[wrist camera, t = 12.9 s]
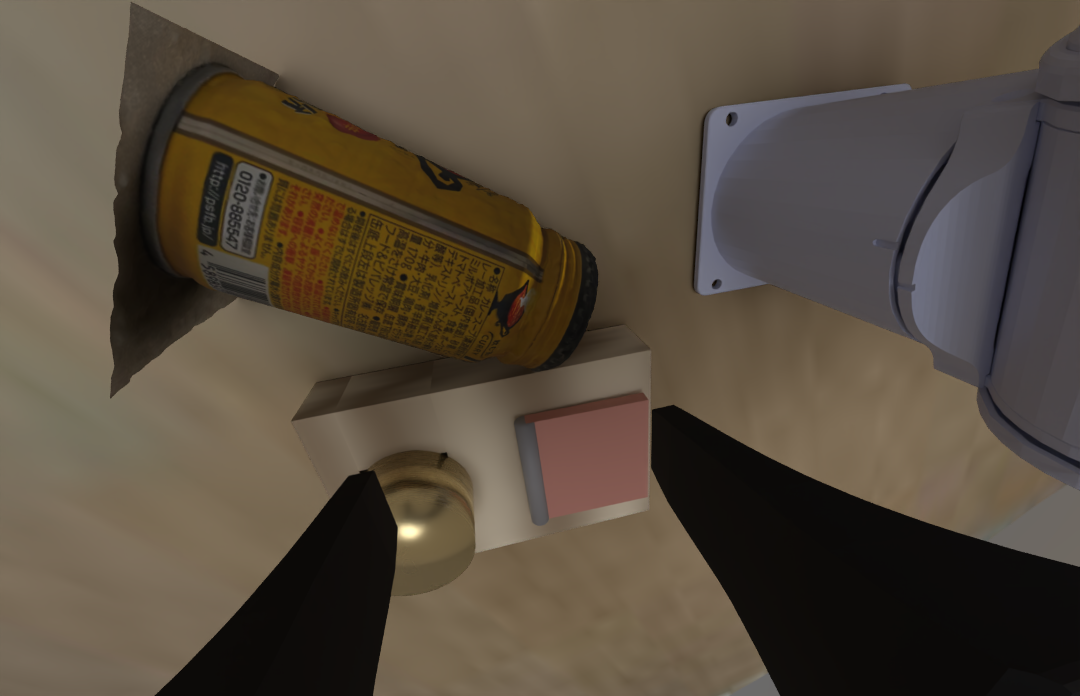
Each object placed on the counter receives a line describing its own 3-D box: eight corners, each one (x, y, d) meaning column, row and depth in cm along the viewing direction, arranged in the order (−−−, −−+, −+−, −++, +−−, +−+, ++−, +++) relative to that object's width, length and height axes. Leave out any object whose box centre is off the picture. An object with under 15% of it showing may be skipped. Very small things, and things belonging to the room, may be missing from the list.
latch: (643, 392, 18) (651, 403, 17) (643, 488, 20) (649, 501, 19) (512, 417, 17) (515, 430, 16) (530, 512, 20) (533, 527, 19)
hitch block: (625, 324, 20) (651, 349, 17) (628, 471, 24) (649, 509, 21) (315, 382, 18) (290, 421, 15) (381, 529, 22) (370, 579, 20)
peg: (478, 417, 20) (485, 505, 15) (463, 493, 22) (465, 593, 17) (371, 409, 19) (338, 502, 14) (365, 490, 21) (335, 598, 16)
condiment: (271, 70, 13) (575, 218, 17) (231, 297, 16) (503, 374, 20) (112, -9, 7) (654, 256, 11) (90, 396, 9) (533, 476, 14)
